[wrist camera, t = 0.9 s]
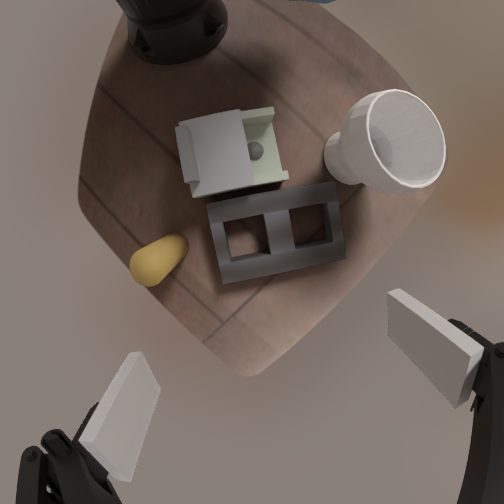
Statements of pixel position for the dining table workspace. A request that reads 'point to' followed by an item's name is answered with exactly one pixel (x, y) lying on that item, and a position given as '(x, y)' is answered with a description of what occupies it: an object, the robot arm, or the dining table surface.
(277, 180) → the pale green box tray
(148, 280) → the peg
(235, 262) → the peg board
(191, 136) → the lid
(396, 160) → the cup
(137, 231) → the dining table surface
